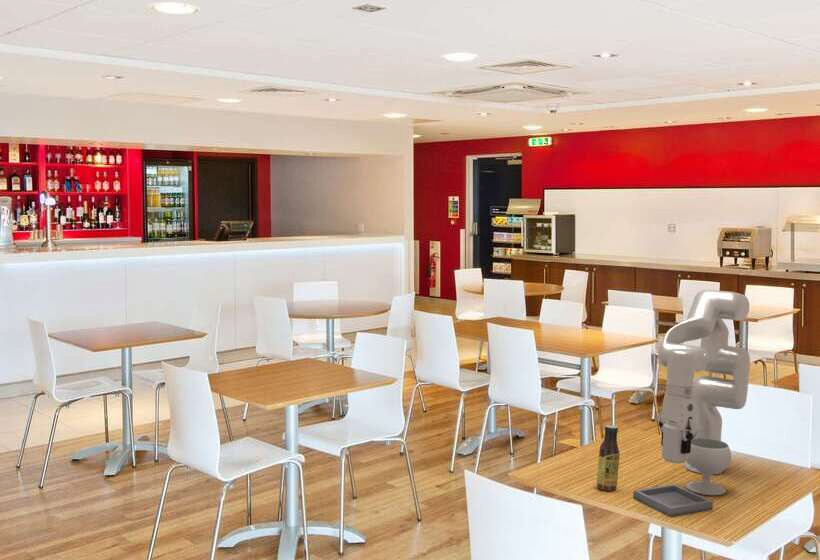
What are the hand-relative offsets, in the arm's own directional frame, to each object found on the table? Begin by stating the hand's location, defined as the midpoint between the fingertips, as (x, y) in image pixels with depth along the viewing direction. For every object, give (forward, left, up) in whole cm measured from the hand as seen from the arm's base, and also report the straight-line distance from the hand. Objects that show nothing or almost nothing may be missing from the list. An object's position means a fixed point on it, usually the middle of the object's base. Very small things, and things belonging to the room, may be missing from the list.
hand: (675, 448), depth 255 cm
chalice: (-19, -6, -17) cm, 26 cm away
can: (0, 0, -4) cm, 4 cm away
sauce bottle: (+10, -18, -17) cm, 27 cm away
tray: (0, 0, -17) cm, 17 cm away
